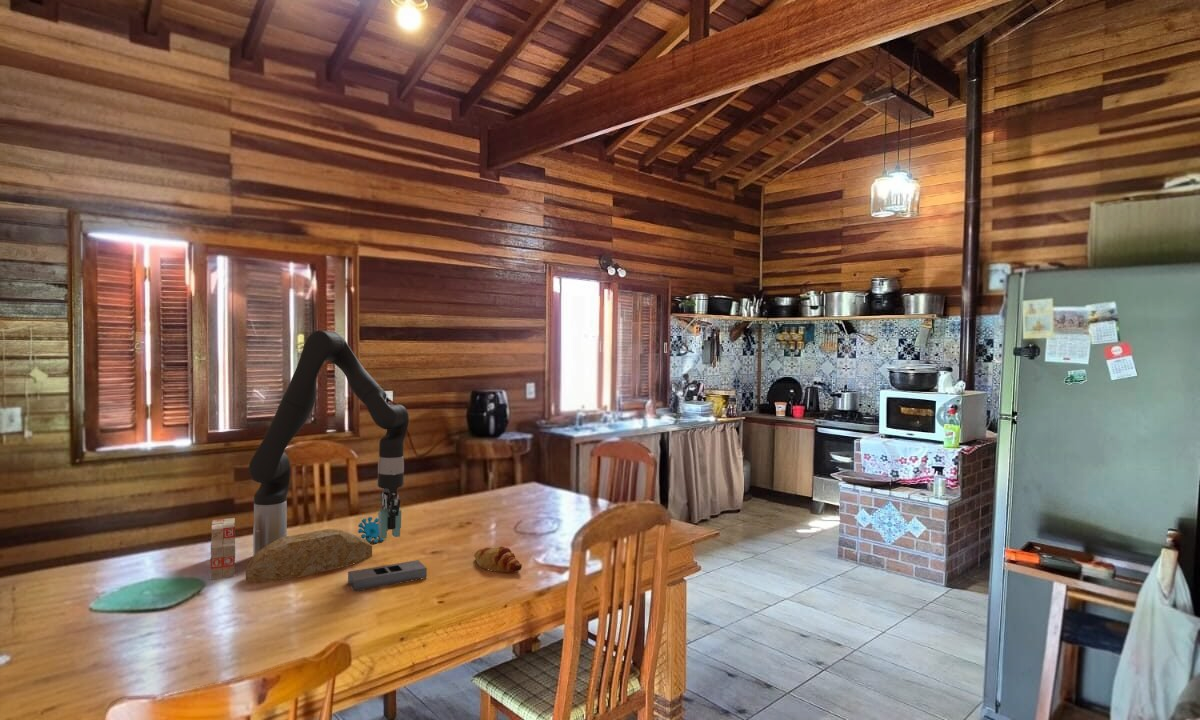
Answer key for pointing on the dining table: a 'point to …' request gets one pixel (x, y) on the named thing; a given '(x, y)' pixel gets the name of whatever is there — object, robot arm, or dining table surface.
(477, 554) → the croissant
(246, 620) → the dining table surface
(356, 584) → the rail
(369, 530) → the gear
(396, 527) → the teal block
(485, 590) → the dining table surface
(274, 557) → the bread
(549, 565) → the dining table surface
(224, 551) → the stack of blocks
